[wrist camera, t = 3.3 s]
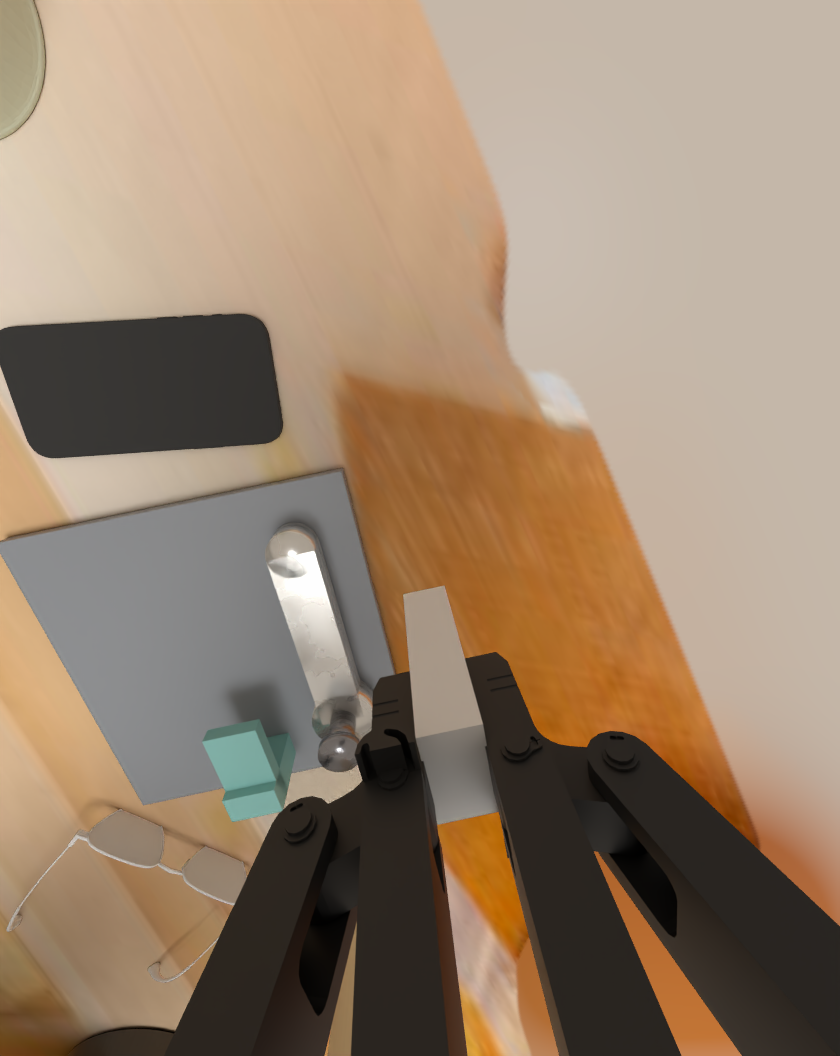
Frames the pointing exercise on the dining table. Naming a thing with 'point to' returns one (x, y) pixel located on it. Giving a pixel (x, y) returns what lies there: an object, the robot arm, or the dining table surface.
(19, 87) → the can
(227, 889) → the eyeglasses
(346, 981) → the coffee cup
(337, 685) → the link
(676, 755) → the dining table surface
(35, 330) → the phone
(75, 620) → the board
